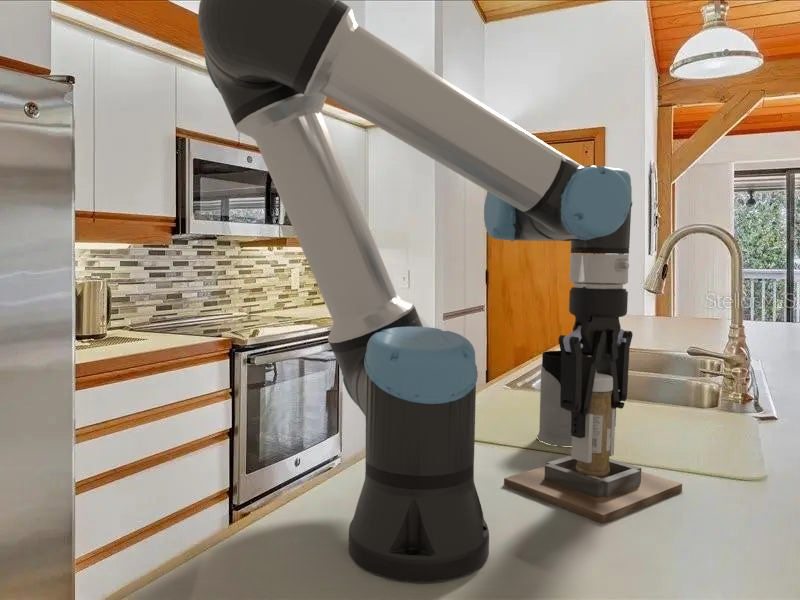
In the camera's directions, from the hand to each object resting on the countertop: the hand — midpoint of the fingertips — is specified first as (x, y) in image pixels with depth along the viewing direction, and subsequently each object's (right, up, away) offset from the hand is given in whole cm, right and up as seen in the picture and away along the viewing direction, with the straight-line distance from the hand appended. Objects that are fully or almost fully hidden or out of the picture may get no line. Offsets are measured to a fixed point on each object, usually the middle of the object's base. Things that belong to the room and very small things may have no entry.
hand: (592, 456), depth 90 cm
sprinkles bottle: (0, -2, 0) cm, 2 cm away
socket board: (0, -4, 0) cm, 4 cm away
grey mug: (+4, -3, +24) cm, 25 cm away
